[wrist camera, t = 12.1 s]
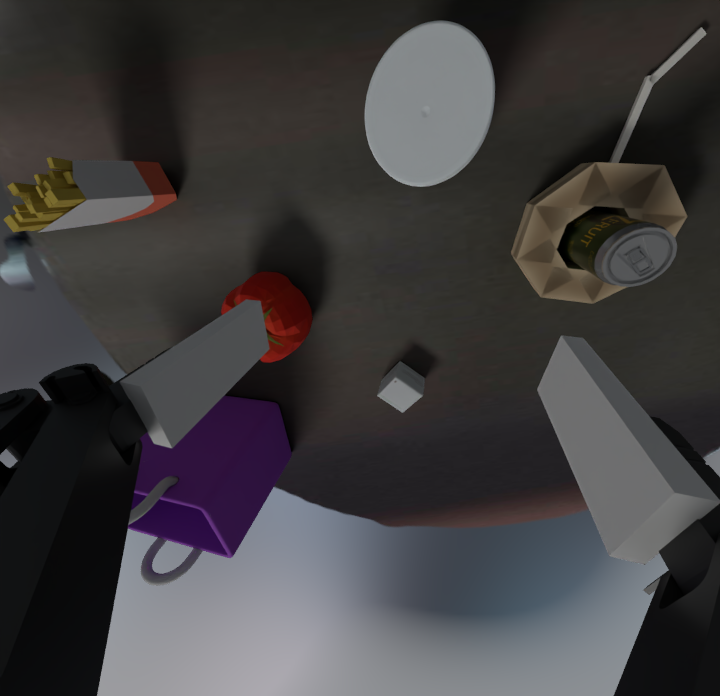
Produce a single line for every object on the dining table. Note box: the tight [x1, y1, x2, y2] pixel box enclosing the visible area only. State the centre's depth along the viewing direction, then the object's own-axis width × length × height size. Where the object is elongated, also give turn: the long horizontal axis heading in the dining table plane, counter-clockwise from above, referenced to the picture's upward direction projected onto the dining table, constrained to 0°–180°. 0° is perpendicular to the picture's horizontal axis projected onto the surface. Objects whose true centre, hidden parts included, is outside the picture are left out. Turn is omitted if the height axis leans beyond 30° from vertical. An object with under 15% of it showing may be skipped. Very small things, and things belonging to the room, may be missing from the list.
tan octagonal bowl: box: [511, 162, 687, 303], centre depth 32 cm, size 14×14×4 cm
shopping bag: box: [128, 396, 291, 586], centre depth 57 cm, size 28×22×30 cm
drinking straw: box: [609, 27, 706, 163], centre depth 27 cm, size 10×3×1 cm, turn 177°
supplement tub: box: [365, 20, 495, 187], centre depth 27 cm, size 10×10×15 cm
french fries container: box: [4, 157, 177, 232], centre depth 37 cm, size 5×11×18 cm, turn 110°
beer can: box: [558, 211, 677, 287], centre depth 29 cm, size 5×5×12 cm
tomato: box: [221, 272, 313, 363], centre depth 45 cm, size 14×13×10 cm
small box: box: [377, 361, 425, 413], centre depth 49 cm, size 6×6×5 cm
